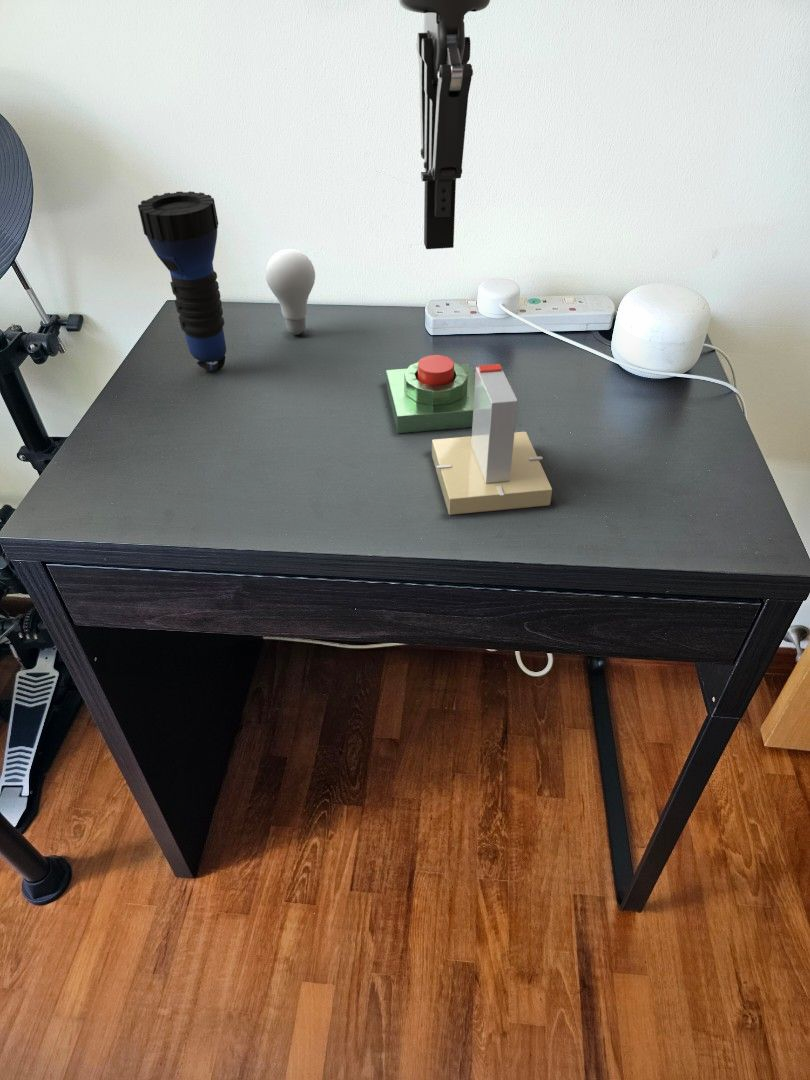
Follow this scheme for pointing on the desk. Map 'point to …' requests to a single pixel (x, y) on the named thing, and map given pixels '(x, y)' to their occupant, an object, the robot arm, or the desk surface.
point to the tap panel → (468, 484)
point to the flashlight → (190, 267)
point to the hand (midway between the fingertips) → (438, 245)
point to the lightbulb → (291, 285)
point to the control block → (431, 400)
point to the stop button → (435, 370)
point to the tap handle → (493, 423)
